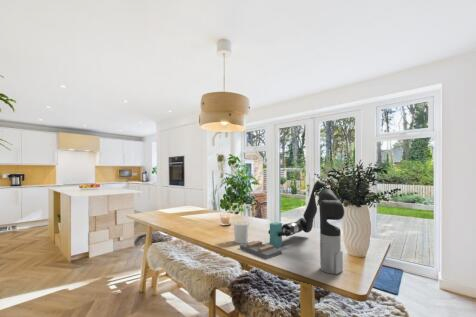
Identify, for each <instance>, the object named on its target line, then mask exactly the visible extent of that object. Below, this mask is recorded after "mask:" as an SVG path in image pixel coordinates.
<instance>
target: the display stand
mask: <svg viewBox="0 0 476 317" xmlns="http://www.w3.org/2000/svg"><path fill="white" fill-rule="evenodd" d="M239 249H240V250H243V251H246V252H249V253H251V254H253V255H256V256H259V257H261V258H264V259H266V260H268V258H269V259H271V258H274V257H276V256H279V255H282V249H279V248H274V246H273V245H270V244H268V245H267V244H264V243H263V242H262V241H261V240H256V241H255V240H253V241H250V242H247V243H244V244H239Z"/></svg>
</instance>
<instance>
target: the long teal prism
mask: <svg viewBox="0 0 476 317" xmlns="http://www.w3.org/2000/svg"><path fill="white" fill-rule="evenodd" d="M282 226H283V223H282V222H278V221H274V222H270V223H269V230H270V234H269V245H273V246H274V248H276V247H277V248H279V246H280V247H282V246H283V236H280V237H278V233H279V232H282ZM277 248H276V249H277Z"/></svg>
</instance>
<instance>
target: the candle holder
mask: <svg viewBox="0 0 476 317" xmlns="http://www.w3.org/2000/svg"><path fill="white" fill-rule="evenodd" d="M233 226H234V227H233V228H234V229H233V230H234V243H235V244H239V245H242V244H245V243H249V242H248V241H249V226H250V224H249V222H247V221H235V222H234V223H233Z"/></svg>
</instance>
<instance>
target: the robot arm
mask: <svg viewBox="0 0 476 317" xmlns="http://www.w3.org/2000/svg"><path fill="white" fill-rule="evenodd" d="M323 182H324V181H321V180H316V181H315V183H314V185H313V187H312V190H311V194H310V196H309V199H308V203H307V206H306V207H305V211H304V213H303V217H301V218H299V219H298V220H296V221H295V222H289V223H284V224H282V232H279V233H278V237H280V236H282V237H290V236H293V235H296V234H297V233H300V232H302V231H303V232H304V233H306V234H308V233H310V232H311V231H312V229H313V225H314V224H313V223H314V220H315V217H316V214H317V213H318V212H317V211H318V207H317V202H316V196H314V192H315V191H316V190H319V189H320V188H322V187H324V186H327V185H326V184H325V183H326V182H325V183H323ZM318 200H319V226H320V227H319V236H320V237H319V240H320V241H319V246H320V249H319V253H320V254H319V255H320V256H319V259H320V260H319V262H320V264H319V265H320V266H319V267H320V268H319V269H320V270H321V271H322V272H324V273H326V274H332V275H336V276H337V275H339V274H340V273H342V272H343V271H344V270H343V268H344V267H343V266H344V265H343V264H344V262H343V254H344V253H343V250H341V248H342V245H341V241H342V240H341V238H342V237H341V229H340V227H338V226H336V225H334V224H331V223H329V222H328V220H329V221H330V220H332V221H335V220H336V221H340V220H342V219H343V218H344V216H345V207H344V205H343V203H342V201H341V200H339V198H338V197H337V196H336V193H335V192H334V190H333V191H332V190H331V189H324V190H322V191H321V192H320V193H319V195H318ZM268 235H270V229H269V230H268Z"/></svg>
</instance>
